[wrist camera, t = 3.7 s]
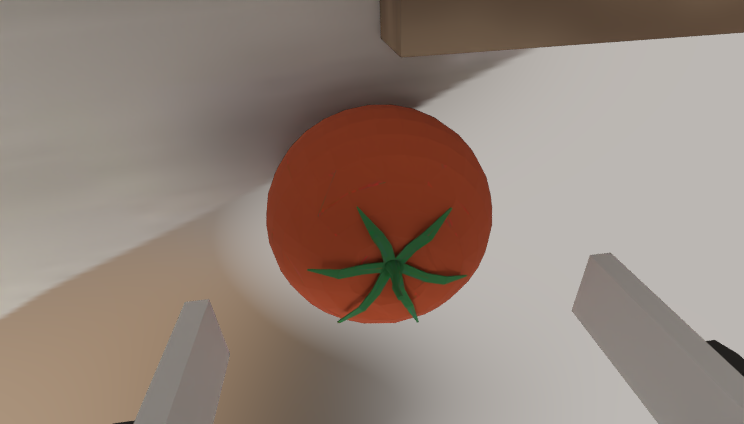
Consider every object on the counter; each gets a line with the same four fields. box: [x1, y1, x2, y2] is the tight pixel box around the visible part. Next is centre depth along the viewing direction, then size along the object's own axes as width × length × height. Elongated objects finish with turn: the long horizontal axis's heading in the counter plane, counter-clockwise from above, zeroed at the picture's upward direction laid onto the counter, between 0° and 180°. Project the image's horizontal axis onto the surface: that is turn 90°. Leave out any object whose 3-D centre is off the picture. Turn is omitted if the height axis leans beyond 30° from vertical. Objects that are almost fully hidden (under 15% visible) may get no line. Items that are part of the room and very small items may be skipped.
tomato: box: [267, 105, 492, 323], centre depth 17 cm, size 10×10×10 cm
